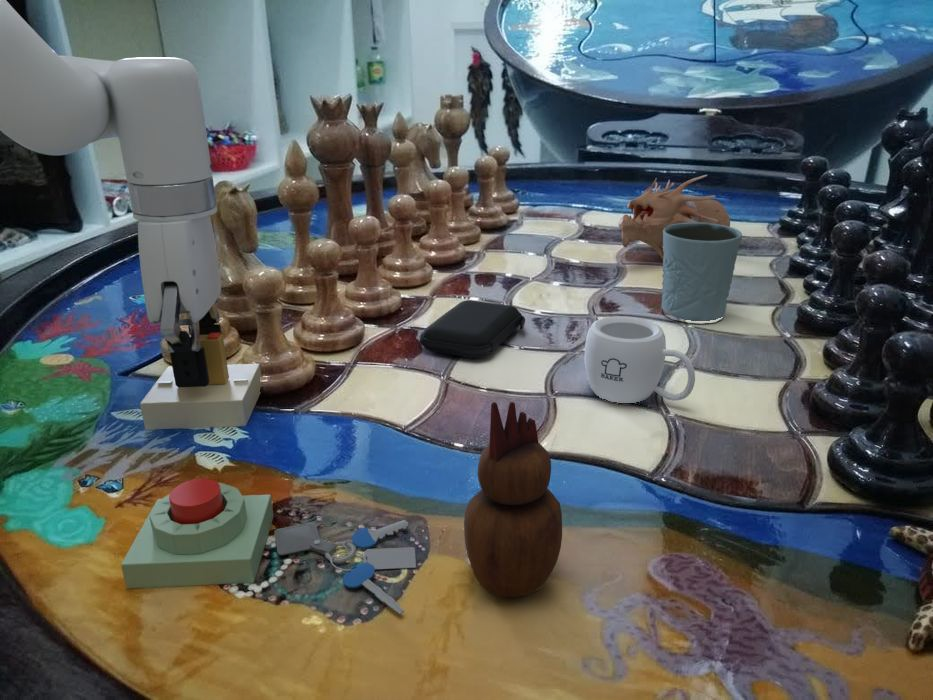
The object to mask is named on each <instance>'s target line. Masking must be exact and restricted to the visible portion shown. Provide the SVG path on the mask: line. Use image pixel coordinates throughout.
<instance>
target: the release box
mask: <svg viewBox="0 0 933 700" xmlns="http://www.w3.org/2000/svg"><path fill="white" fill-rule="evenodd" d="M217 483H218V484H219V485H220V488H221V494H222V500H223V511H222V512H221V513H220V514H219V515H217V516H216V517H214V518H213V519H210V520H207V521H204V522H201V523H198V524H179V523H176V522H175V521H174V519H173V516H172V511H171V506H170V501H169V495H170V493H168V494H167V495H166V496H165V495H164V497H162V498H157V499H156V501H155V503H154V505H153V506H152V508H151V510H150V512H149V513H148V515H147V517H146V519H145V521H144V522H143V524H142V526H141V528H140V530H139V531H138V533H137V535H136V537H135V539H134V541H133V542H132V544H131V545H130V548H129V549H128V551H127V553H126V555H125V557H124V558H123V560H122V562H121V564H120V567H121V571H122V574H123V579H124V584H125V588H126V589H130V590H131V589H146V588H147V589H151V588H152V589H153V588H173V587H174V588H175V587H194V586H195V587H196V586H214V585H215V586H216V585H217V586H218V585H236V584H237V585H238V584H239V585H240V584H254V583H255V581H256V577H257V574H258V570H259V568H260V564H261V561H262V558H263V553H264V551H265V547H266V544H267V541H268V537H269V534H270V530H271V527H272V524H273V521H274V517H275V515H274V509H273V500H272V495H271V494H251V495H250V494H249V495H242V493H241V492H240V490H239V489H238V487H235V486H232V485H229V484H226V483H223V482H217Z"/></svg>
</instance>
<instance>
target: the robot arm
mask: <svg viewBox="0 0 933 700" xmlns="http://www.w3.org/2000/svg"><path fill="white" fill-rule="evenodd" d="M200 83H201V82H200V78H199V74H198V70H197V69H196V67H195V65H193V64H192V62H190V61H188V60H186V59H183V58H180V57H179V58H178V57H161V56H160V57H156V56H155V57H153V56H152V57H126V58H121V59H117V60H108V59H107V60H106V59H97V58H88V57H79V56H72V55H59V54H58V53H57V52H56V51H55V50H54V49H53V48H52V47H51V46H50V45H49V44H48V43H47V42H46V41H45V40H44V39H43V38H42V37H41V36H40V35H39V34H38V32H37V31H35V29H34V28H33V27H32V26H30V24H28V22H27V21H26V20H25V18H23V17H22V16H21V14H19V13H18V12H17V11H16V9H15V8H14V7H13V6H12V5H11V4H10V3H9V2H8V1H7V0H0V132H2V134H3V135H5V136H6V137H8V138H9V139H10V140H11V141H13V142H15V143H17V144H19V145H20V146H21V147H24V148H25V149H27V150H30V151H32V152H34V153H38V154H41V155H46V156H66V155H70V154H73V153H76V152H78V151H80V150H81V149H84V148H86V147H87V146H88V145H90V144H93V143H95V142H97V141H101V140H104V139H110V138H118V141H119V146H120V151H121V155H122V156H121V157H122V162H123V167H124V174H125V178H126V183H127V190H128V196H129V201H130V206H131V210H132V212H131V213H132V218H133V219H134V220H137V221H138V222H137V243H138V245H137V246H138V255H139V257H138V258H139V266H140V274H141V275H140V276H141V282H142V289H143V290H142V291H143V297H144V304H145V310H146V317H147V320H148V321H149V322H150V323H151V324H153V325H157V324H159V323H160V329H159V331H160V335H161V337H163V338H164V341H166V344H167V351H168V353H169V357H170V362H171V366H172V368H173V373H174V379H175V384H176V386H177V387H205V386H207V385H208V384H209V375H208V368H207V362H206V355H205V349H204V348H200V335H209V334H210V333H220V334H222V326H221V323H220V319H221V317H220V313H219V309H218V305H217V303H218V298H219V297H220V295H221V293H222V277H221V268H220V262H219V255H218V249H217V243H216V237H215V232H214V228H213V223H212V218H211V216H213V215H214V214H216V213H217V212H218V204H217V198H216V190H215V185H214V184H215V183H214V177H213V170H212V162H211V156H210V155H211V154H210V147H209V141H208V134H207V127H206V126H207V125H206V120H205V112H204V105H203V97H202V96H203V95H202V90H201V84H200ZM181 314H188V318H180V315H181ZM181 326H187V327H188V328H187V329H188V332H187V331H186V330H182V328H181ZM189 335H191V337H190V336H189ZM222 335H223V334H222Z"/></svg>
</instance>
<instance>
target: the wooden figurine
mask: <svg viewBox="0 0 933 700" xmlns="http://www.w3.org/2000/svg"><path fill="white" fill-rule="evenodd" d="M501 417H502V416H501V413H500V410H499V405H498V403H497V402H495V401H493V402H491V404H490V424H489V443H488V445H487V446H486V447H485V448H484V449H483V450H482V452H481V454H480V456H479V458H478V465H477V479H478V484H479V486H480V488H481V489H480V490H479V491H478V492H477V493H476V494H475V495H473V496H472V497H471V499H469V500H468V503H467V505H466V507H465V509H464V517H463V518H464V520H463V529H464V530H463V532H464V534H463V536H464V546H465V550H466V554H467V559H468V562H469V565H470V568H471V571H472V572H473V575H474V577H475V579H476V581H477V583H478V584H479V586H481V587H482V588H483V589H484V590H486V591H487V592H488V593H489V594H492V595H495V596H498V597H503V598H520V597H524V596H526V595H527V596H528V595H530V594H532V593H535V592H536V591H537V590H540V588H543V586H544V585H545V584H546V582H547V580H548V579H549V577H550V576H551V574H553V572H554V569H555V567H556V565H557V562H558V560H559V556H560V552H561V548H562V540H563V512H562V508H561V502H559V500H558V499H557V497H556V496H555V495H554V494H553V492H552V491H551V490H550V489H549V486H550V481H551V475H552V460H551V459H552V458H551V456H550V452H549V451H548V450H547V449H546V447H544V446H543V445H542V444H541V443H540V442H539V437H538V431H537V430H538V429H537V425H536V420H535V419H533V418H531V417H528V418H527V413H526V412H524V411H520V412H519V415H518V417H517V410H516V403H515V402H514V401H510V402H509V404H508V409H507V415H506V419H505V424H503V420H502V418H501ZM517 418H518V419H517Z"/></svg>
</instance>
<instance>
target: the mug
mask: <svg viewBox="0 0 933 700" xmlns="http://www.w3.org/2000/svg"><path fill="white" fill-rule="evenodd" d="M666 341H667V340H666V335H665V333H664V330H663V328H662V327H661V326H660V325H659V324H657V323H655V322H653V321H650V320H647V319H645V318H641V317H636V316H627V315H616V316H615V315H614V316H608V317H603V318H599V319H597V320H595V321H593V322H592V323H591V325H590V327H589V329H588V330H587V333H586V338H585V345H584V369H585V374H586V378H587V382H588V384H589V387H590V389H591V390H592V392H593V393H594V394H595V396H597V397H598V396H599V398H600V399H601V398H602V399H601V400H603V399H606V400H608V401H612V402H617V403H616V404H618V403H635V404H637V403H636V402H639V403H641V402H640V401H642V402H644V401H646V400H647V399H648V398H649V397H650V396H652V394H653V393H654V392H655V393H656V394H658V395H659V396H660V397H662V398H664V399H666V400H670V401H682V400H684V399H686V398H688V397H689V396H690V394H692V391H693V389H694V387H695V382H696V372H695V368H694V366H693V364H692V361H691V359H690V358H689V357H688V356H687V355H686V353H683V352H681V351H680V350H677V349H667V344H666ZM666 357H675V358H677V359H679V360H680V361H682V363H683V364H684V366H685V368H686V371H687V382H686V385H685V387H684V389H683V390H682V391H681V392H679V393H672V392H671V393H670V392H668V391H667V390H665V389H663V388H662V387H661V386H658V385H659V382H660V380H661V377H662V375H663V371H664V367H665V362H666ZM606 400H605V401H606ZM643 400H644V401H643ZM608 401H607V402H608ZM612 402H611V403H612Z"/></svg>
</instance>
